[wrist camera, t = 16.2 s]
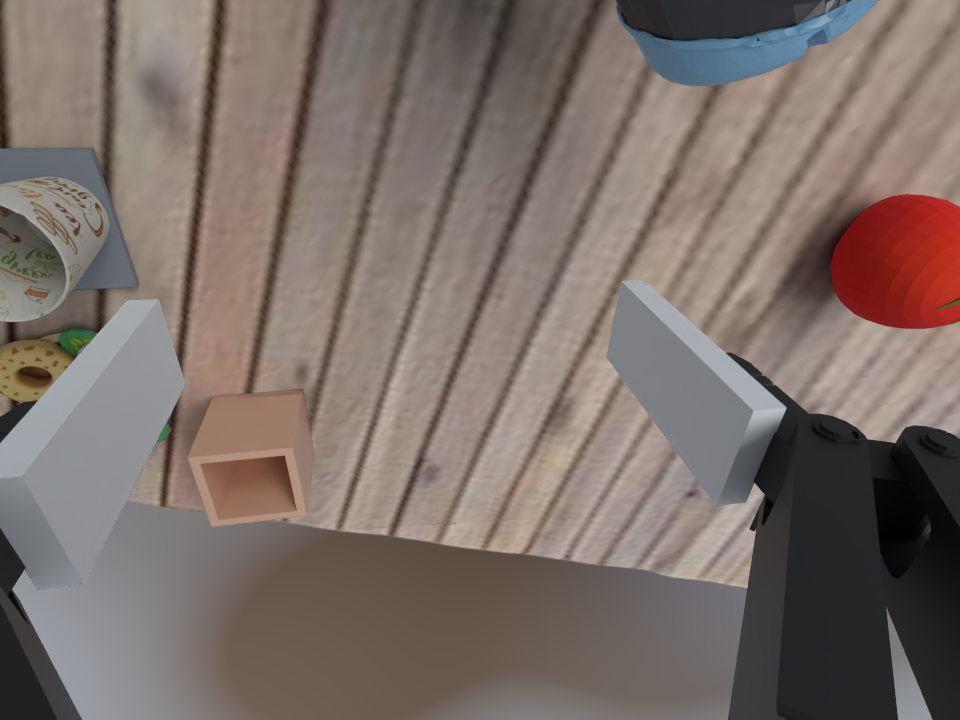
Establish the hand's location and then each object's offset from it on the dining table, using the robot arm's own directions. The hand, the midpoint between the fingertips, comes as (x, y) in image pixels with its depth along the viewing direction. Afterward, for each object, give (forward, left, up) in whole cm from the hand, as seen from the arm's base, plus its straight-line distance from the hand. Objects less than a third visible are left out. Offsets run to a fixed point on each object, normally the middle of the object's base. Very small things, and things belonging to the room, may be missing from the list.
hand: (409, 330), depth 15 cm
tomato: (+10, +49, -33) cm, 60 cm away
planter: (+28, -14, -33) cm, 45 cm away
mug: (+6, -27, -32) cm, 42 cm away
